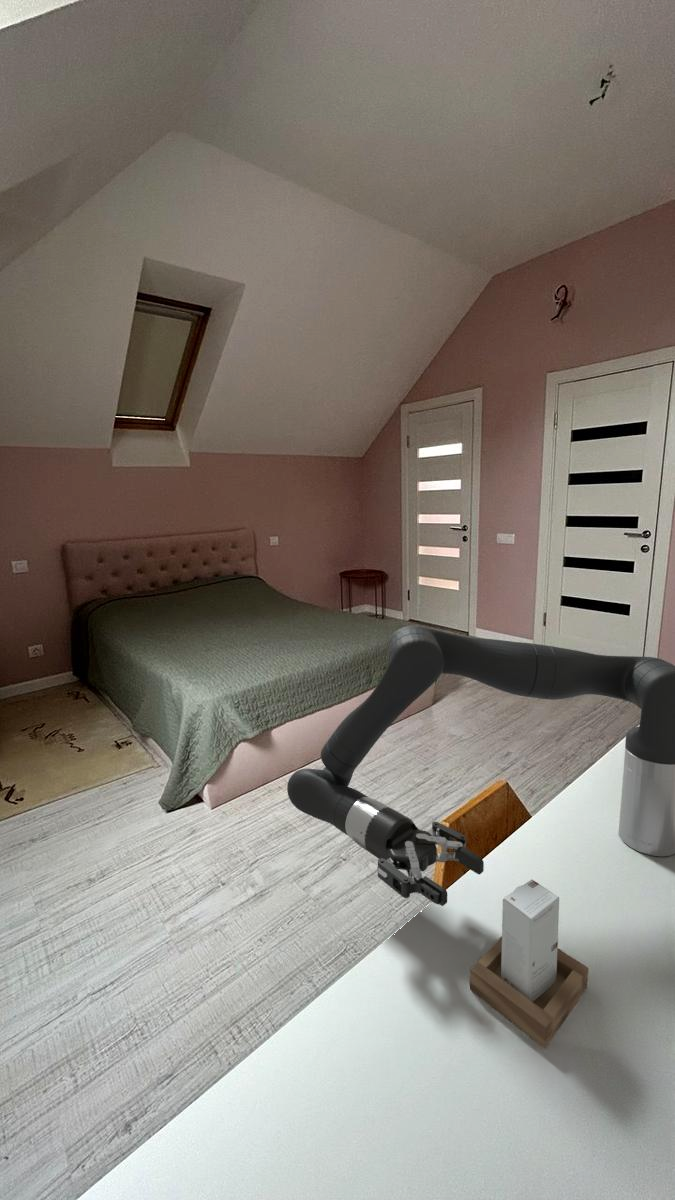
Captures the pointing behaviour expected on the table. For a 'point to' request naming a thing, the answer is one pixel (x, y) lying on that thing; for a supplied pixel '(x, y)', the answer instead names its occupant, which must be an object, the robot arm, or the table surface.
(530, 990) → the skincare box
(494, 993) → the wooden tray
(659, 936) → the table surface
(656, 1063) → the table surface
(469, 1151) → the table surface
